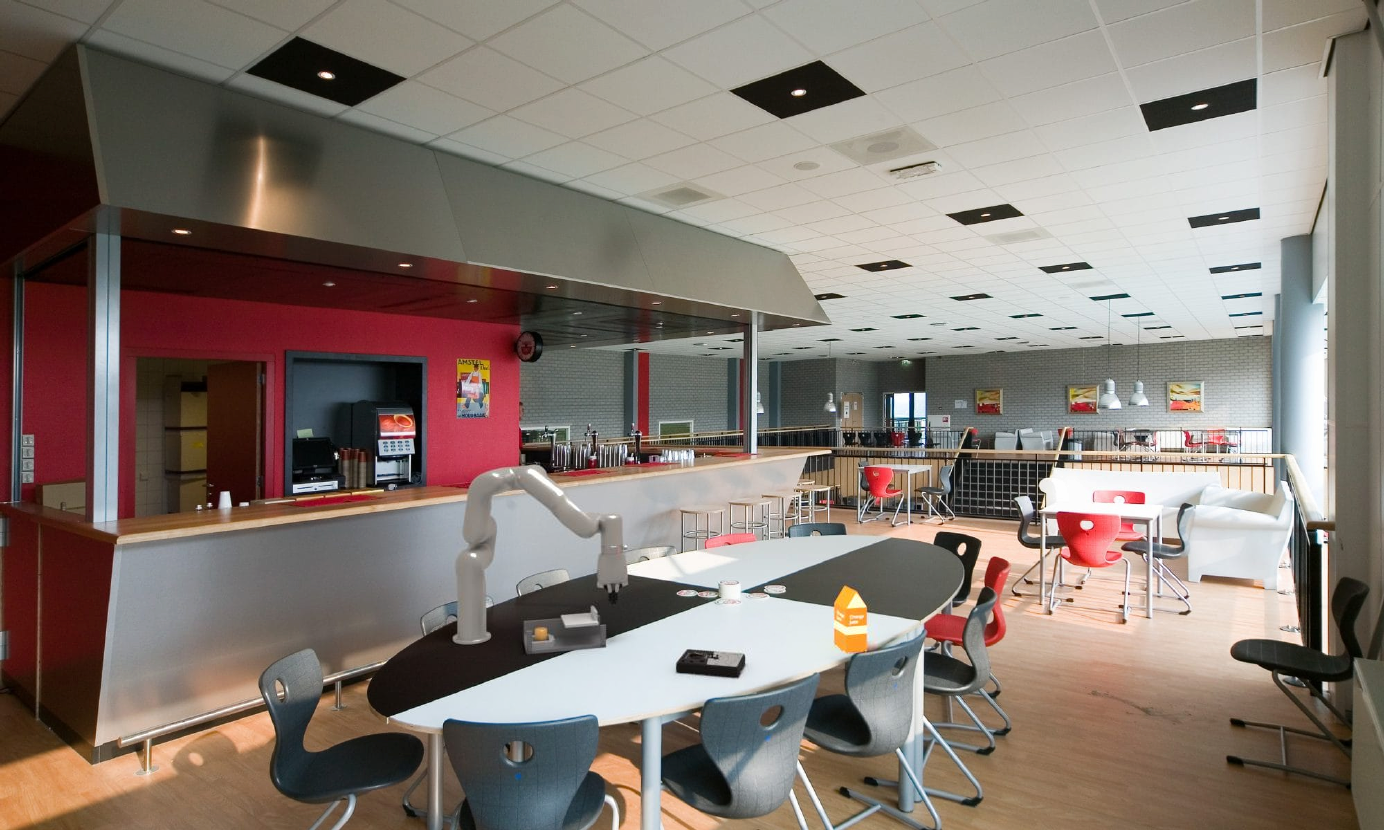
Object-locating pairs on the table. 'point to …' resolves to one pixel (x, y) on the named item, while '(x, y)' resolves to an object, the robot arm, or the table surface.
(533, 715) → the table surface
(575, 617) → the lid
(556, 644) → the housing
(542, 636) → the peg
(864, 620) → the orange juice
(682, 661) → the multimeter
